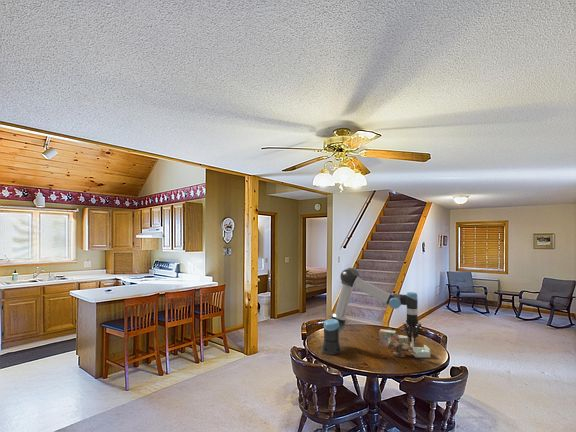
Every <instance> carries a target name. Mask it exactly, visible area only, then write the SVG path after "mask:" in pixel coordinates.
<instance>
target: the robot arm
mask: <svg viewBox="0 0 576 432" xmlns="http://www.w3.org/2000/svg"><path fill="white" fill-rule="evenodd" d="M340 283H341V285H342V286H341V289H340V292H339V296H338V300H337V304H336V307H335V310H334V312H333V313H332V314H331V317H330V318H329V319H326V320H324V322H323V342H322V343H323V344H322V346H321V352H322V354H325V355H329V356H330V355H331V356H338V355H340V354H342V347H341V342H340V334H341V333H342V332H344V330H345V328H346V321H347V317H346V313H347V310H348V307H349V304H350V300H351V297H352V292H353V289H354V288H355V289H357V290H359V291H361V292H363V293H365V294H367V295H369V296H371V297H373V298H375V299H377V300H379V301H380V302H382V303H385V304H387V305H389V307H390V308H391V309H393V310H394V309H395V310H396V309H398V308H400V307H401V306H406V320H405V322H403V323H402V324H403V327H404V330H405V336H408V342H409V343H410V345H411V347H415V344H414V343H415V342H416V338H418V337H419V333H420V328H421V327H422V324H421V323H420V322H419V321H418V316H419V315H418V306H419V305H418V303H419V302H418V293H416V292H411V291H408V292H406V294H398V293H389V292H388V291H385V290H383V289H381V288H379V287H377V286H376V285H374V284H371V283H369V282H368V281H365V280H363V279H362V278H360V272H359V270H357V269H356V268H354V267H348V268H345V269H344V270H342V271H341V273H340Z"/></svg>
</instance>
